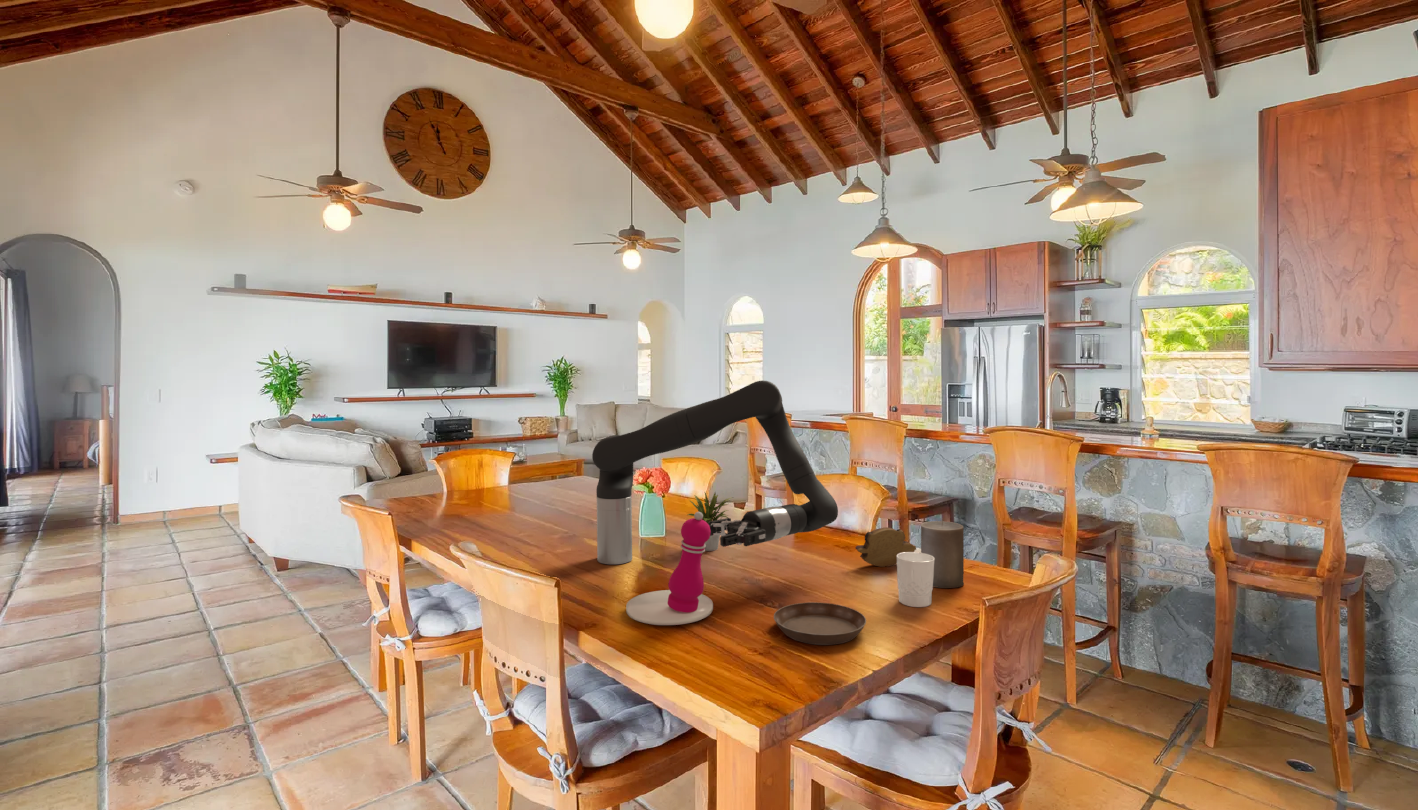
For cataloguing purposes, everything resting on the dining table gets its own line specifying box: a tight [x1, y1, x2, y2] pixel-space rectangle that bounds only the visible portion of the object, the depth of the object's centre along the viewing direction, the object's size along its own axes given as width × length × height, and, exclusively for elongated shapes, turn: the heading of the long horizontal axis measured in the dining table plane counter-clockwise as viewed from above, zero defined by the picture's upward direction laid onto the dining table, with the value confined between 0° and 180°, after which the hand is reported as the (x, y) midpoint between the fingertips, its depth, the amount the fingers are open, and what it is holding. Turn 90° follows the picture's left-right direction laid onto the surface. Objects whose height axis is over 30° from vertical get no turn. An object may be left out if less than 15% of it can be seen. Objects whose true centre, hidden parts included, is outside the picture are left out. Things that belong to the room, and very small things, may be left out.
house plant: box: [687, 491, 734, 552], centre depth 188 cm, size 14×14×16 cm
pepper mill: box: [668, 511, 711, 612], centre depth 136 cm, size 7×7×20 cm
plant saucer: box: [773, 601, 867, 646], centre depth 130 cm, size 18×18×3 cm
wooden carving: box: [855, 526, 917, 568], centre depth 173 cm, size 16×5×10 cm, turn 108°
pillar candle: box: [920, 519, 965, 589], centre depth 158 cm, size 10×10×15 cm
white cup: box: [896, 551, 935, 608], centre depth 145 cm, size 8×8×10 cm
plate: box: [625, 589, 714, 626], centre depth 140 cm, size 18×18×2 cm
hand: (709, 537), depth 146 cm, fingers open, 8 cm apart
